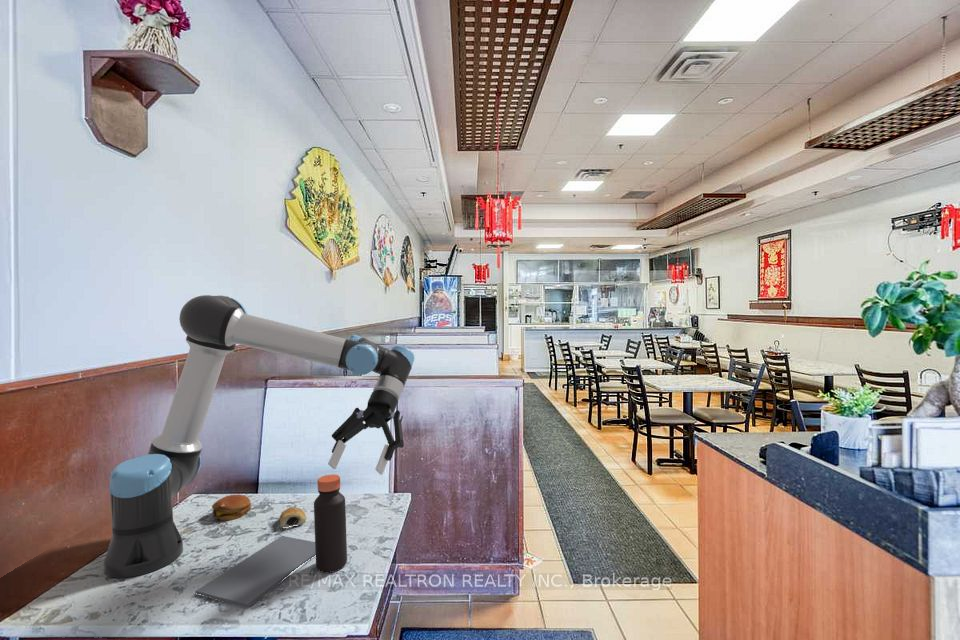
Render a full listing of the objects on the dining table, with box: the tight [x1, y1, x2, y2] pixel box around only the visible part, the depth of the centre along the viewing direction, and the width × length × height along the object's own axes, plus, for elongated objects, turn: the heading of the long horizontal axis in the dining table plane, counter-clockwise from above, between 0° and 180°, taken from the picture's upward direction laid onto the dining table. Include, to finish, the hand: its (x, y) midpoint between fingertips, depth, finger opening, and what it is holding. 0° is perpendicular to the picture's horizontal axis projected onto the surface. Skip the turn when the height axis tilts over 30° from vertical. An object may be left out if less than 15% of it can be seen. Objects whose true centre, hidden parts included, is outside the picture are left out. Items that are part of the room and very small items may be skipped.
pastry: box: [278, 507, 307, 529], centre depth 129 cm, size 9×7×4 cm
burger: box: [211, 494, 252, 522], centre depth 134 cm, size 10×9×5 cm
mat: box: [195, 535, 316, 609], centre depth 105 cm, size 14×24×1 cm, turn 160°
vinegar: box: [313, 474, 348, 573], centre depth 106 cm, size 7×7×20 cm
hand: (354, 469), depth 114 cm, fingers open, 13 cm apart
